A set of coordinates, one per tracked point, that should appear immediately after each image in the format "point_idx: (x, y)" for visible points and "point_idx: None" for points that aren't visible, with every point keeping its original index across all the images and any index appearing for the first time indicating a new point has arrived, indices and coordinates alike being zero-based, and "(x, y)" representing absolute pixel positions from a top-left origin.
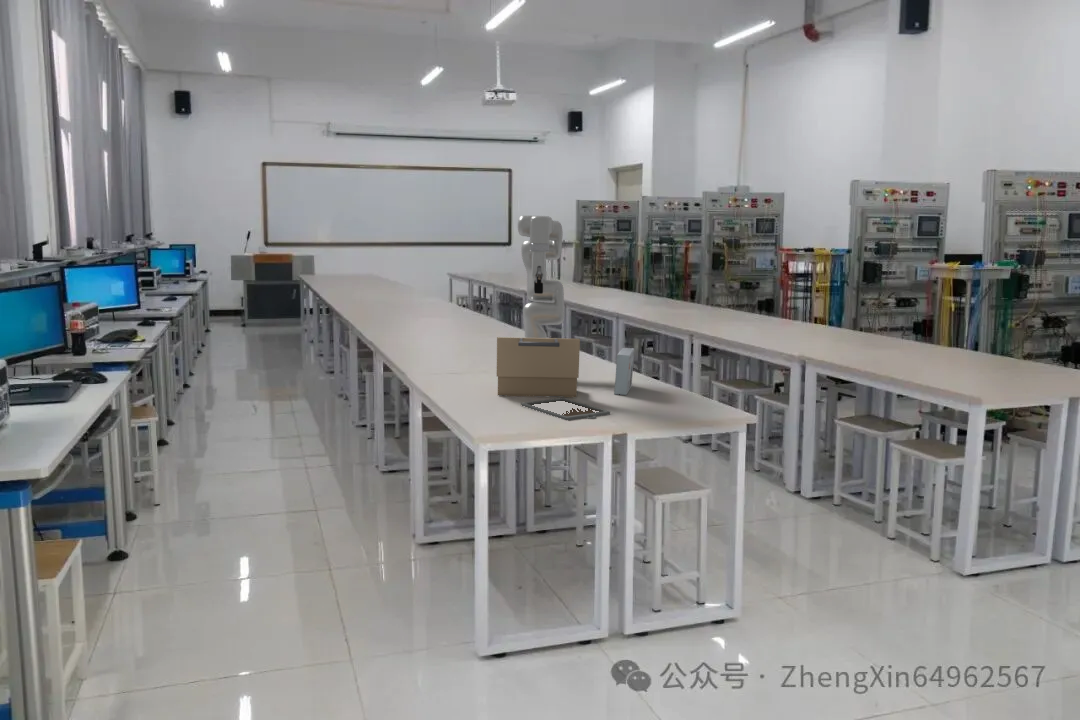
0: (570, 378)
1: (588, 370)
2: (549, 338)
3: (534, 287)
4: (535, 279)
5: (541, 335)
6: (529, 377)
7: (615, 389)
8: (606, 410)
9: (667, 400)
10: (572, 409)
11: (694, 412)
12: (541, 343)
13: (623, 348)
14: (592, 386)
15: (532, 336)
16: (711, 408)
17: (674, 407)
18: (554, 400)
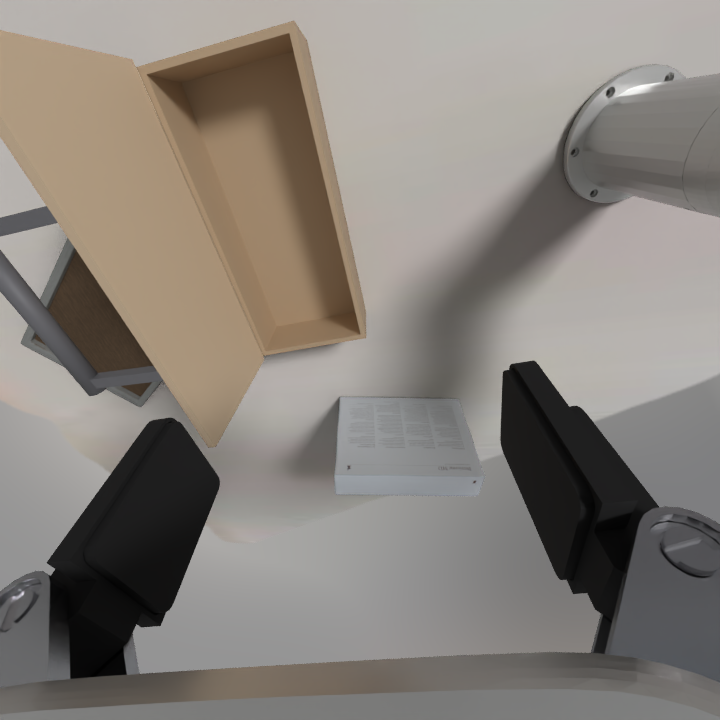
0: (256, 338)
1: (693, 310)
2: (147, 352)
3: (541, 401)
4: (12, 660)
5: (709, 197)
6: (201, 213)
7: (339, 406)
8: (143, 401)
9: (317, 472)
10: (133, 337)
11: (238, 500)
12: (35, 331)
13: (463, 479)
14: (429, 346)
15: (716, 138)
16: (280, 516)
17: (262, 480)
18: None
